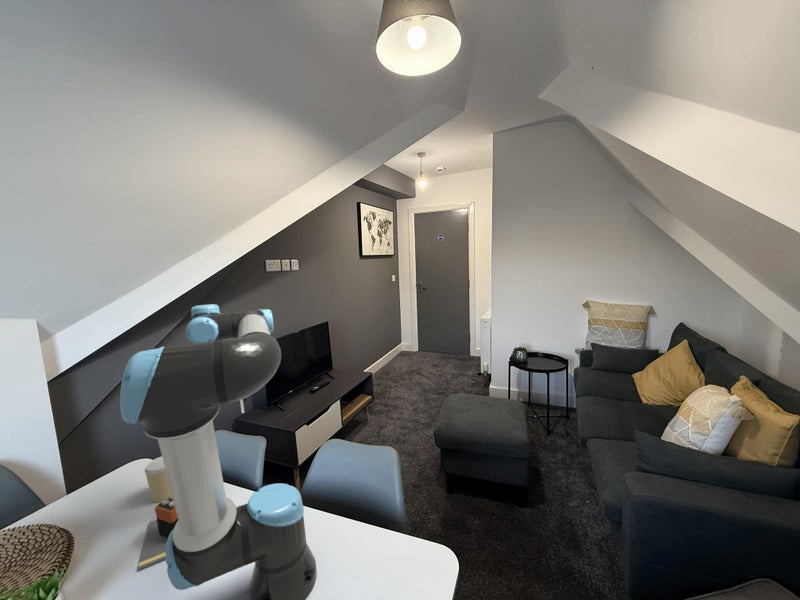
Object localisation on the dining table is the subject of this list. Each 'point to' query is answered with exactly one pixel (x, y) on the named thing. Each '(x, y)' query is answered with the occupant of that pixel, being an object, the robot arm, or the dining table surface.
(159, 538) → the book
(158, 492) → the coffee cup
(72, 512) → the dining table surface
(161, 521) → the battery
